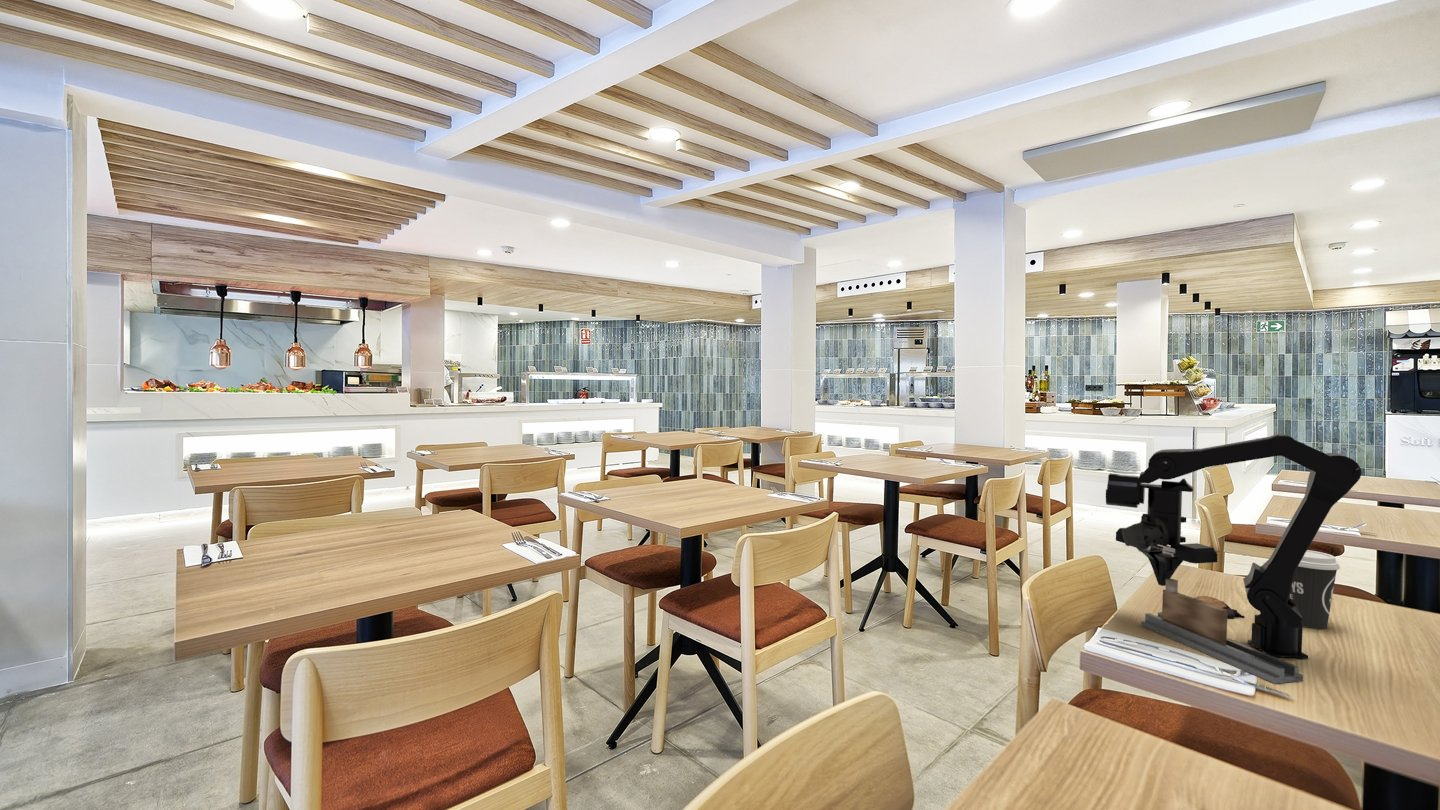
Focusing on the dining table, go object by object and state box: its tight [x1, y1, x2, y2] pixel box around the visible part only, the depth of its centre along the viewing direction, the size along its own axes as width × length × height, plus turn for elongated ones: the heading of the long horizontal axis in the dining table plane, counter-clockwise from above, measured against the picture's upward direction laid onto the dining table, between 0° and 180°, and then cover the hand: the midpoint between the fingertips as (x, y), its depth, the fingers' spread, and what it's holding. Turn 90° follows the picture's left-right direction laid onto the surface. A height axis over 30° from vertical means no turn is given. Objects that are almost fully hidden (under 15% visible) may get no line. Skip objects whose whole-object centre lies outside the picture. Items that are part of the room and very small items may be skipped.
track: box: [1140, 611, 1304, 685], centre depth 119 cm, size 26×6×2 cm, turn 12°
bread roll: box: [1194, 595, 1246, 620], centre depth 140 cm, size 11×8×4 cm
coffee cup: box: [1289, 549, 1341, 630], centre depth 133 cm, size 10×10×15 cm
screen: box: [1161, 578, 1228, 644], centre depth 123 cm, size 12×2×9 cm, turn 12°
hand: (1162, 585), depth 130 cm, fingers closed
